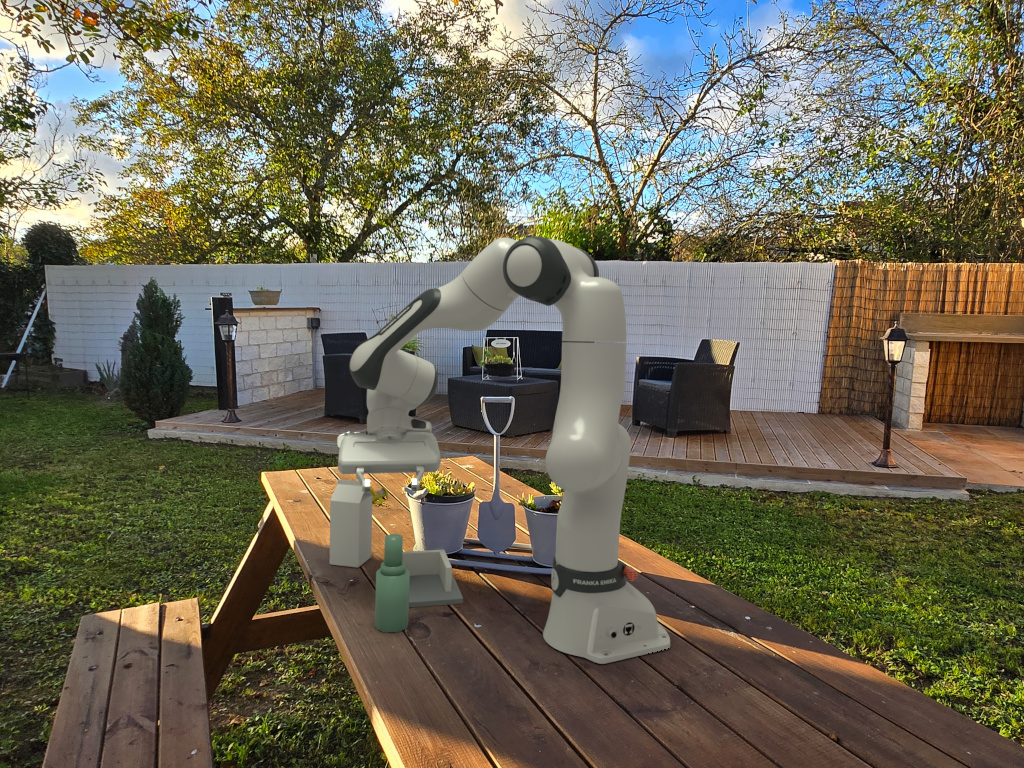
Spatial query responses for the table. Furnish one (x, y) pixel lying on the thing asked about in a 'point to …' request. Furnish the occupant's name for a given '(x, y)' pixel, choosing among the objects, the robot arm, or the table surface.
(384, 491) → the sprinkler
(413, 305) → the robot arm
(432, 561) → the bottle holder
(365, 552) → the milk carton
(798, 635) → the table surface
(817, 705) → the table surface
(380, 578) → the bottle
